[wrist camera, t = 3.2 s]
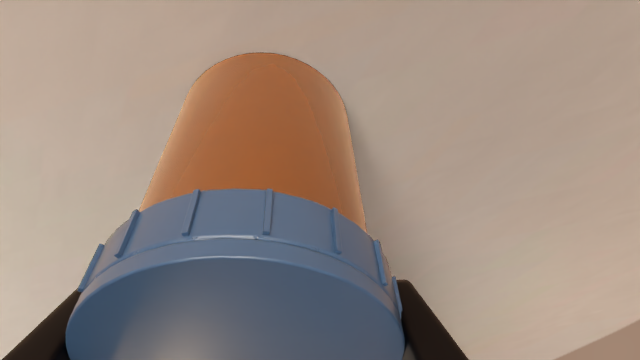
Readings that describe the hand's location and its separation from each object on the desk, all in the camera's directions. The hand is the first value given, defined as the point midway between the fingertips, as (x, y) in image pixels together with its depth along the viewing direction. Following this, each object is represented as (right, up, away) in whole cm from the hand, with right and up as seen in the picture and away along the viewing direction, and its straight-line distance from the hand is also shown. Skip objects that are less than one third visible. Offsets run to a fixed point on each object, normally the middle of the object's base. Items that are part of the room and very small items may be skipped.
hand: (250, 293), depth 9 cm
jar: (0, +4, +5) cm, 7 cm away
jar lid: (0, -1, -1) cm, 1 cm away
